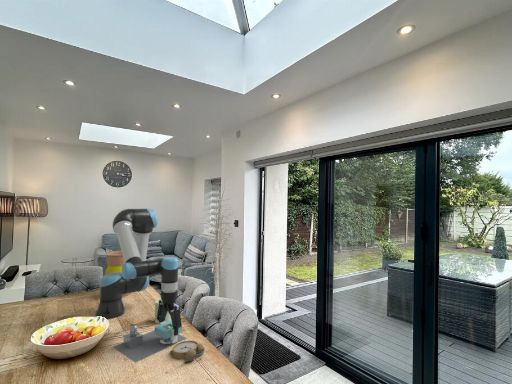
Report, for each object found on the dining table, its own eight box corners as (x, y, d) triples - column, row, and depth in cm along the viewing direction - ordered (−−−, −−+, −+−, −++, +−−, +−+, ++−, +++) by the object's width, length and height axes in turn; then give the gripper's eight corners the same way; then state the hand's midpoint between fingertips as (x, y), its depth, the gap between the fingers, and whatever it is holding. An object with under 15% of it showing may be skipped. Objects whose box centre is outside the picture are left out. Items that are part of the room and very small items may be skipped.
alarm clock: (184, 339, 128) (209, 340, 121) (185, 350, 127) (211, 352, 120) (166, 350, 118) (192, 352, 111) (167, 362, 117) (194, 365, 111)
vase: (94, 298, 191) (96, 254, 192) (115, 289, 212) (117, 249, 214) (123, 300, 187) (124, 256, 189) (141, 290, 209) (143, 250, 210)
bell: (155, 341, 129) (156, 327, 130) (170, 335, 136) (170, 321, 136) (166, 346, 124) (166, 332, 125) (180, 340, 131) (180, 326, 131)
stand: (123, 344, 126) (123, 325, 126) (135, 339, 131) (136, 321, 131) (129, 348, 122) (130, 329, 123) (142, 343, 127) (143, 324, 128)
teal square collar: (154, 333, 129) (154, 327, 129) (170, 326, 136) (170, 320, 137) (165, 339, 124) (165, 332, 124) (182, 332, 131) (182, 325, 131)
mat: (112, 348, 124) (112, 346, 124) (162, 328, 145) (162, 327, 145) (135, 364, 112) (135, 362, 112) (186, 340, 132) (187, 338, 132)
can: (166, 326, 147) (167, 303, 148) (151, 324, 149) (151, 302, 150) (174, 319, 156) (175, 298, 157) (160, 318, 158) (160, 296, 159)
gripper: (149, 288, 135) (148, 335, 134) (176, 297, 122) (175, 349, 120) (162, 284, 141) (161, 329, 140) (190, 293, 128) (189, 342, 126)
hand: (168, 338), depth 130 cm, fingers closed on teal square collar, 9 cm apart
